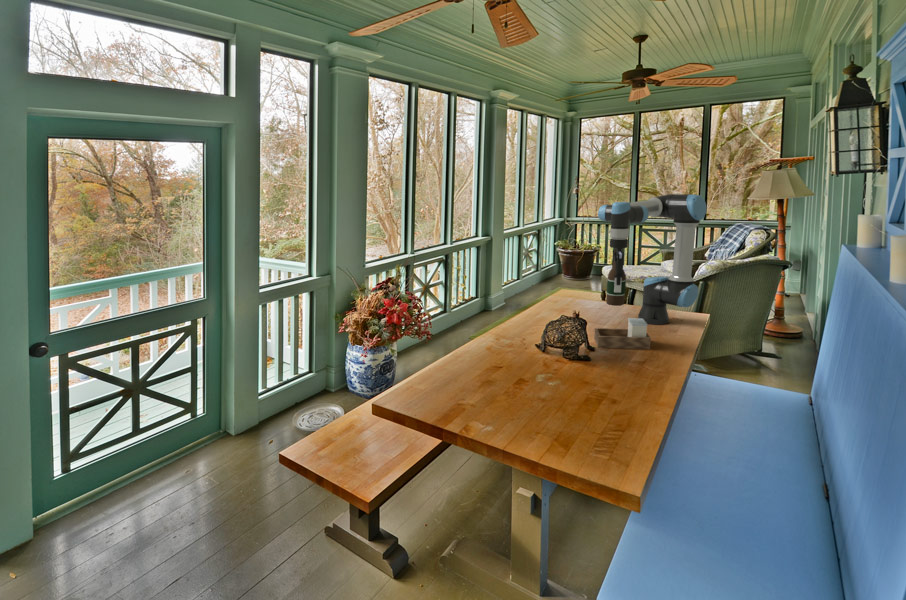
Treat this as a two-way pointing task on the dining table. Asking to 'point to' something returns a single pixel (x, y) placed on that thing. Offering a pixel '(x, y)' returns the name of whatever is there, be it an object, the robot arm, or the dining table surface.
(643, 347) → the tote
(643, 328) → the carton
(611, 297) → the beer bottle
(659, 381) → the dining table surface
